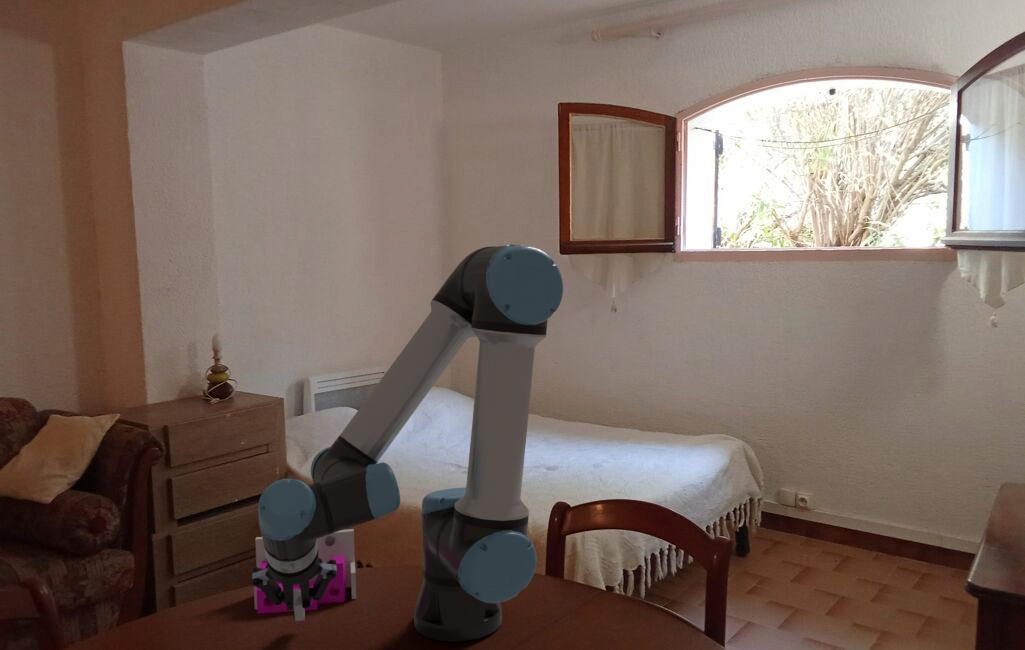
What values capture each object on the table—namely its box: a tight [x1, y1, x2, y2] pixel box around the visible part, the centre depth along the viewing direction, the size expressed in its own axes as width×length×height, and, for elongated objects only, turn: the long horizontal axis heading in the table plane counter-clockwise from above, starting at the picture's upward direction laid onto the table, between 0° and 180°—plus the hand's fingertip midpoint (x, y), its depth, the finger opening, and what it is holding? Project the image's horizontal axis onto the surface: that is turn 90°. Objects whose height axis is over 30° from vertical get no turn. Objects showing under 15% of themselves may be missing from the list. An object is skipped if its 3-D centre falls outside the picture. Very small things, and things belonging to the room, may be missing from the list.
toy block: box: [256, 556, 347, 615], centre depth 144 cm, size 15×6×8 cm, turn 98°
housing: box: [253, 528, 357, 610], centre depth 146 cm, size 7×18×11 cm, turn 103°
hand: (300, 612), depth 133 cm, fingers closed
